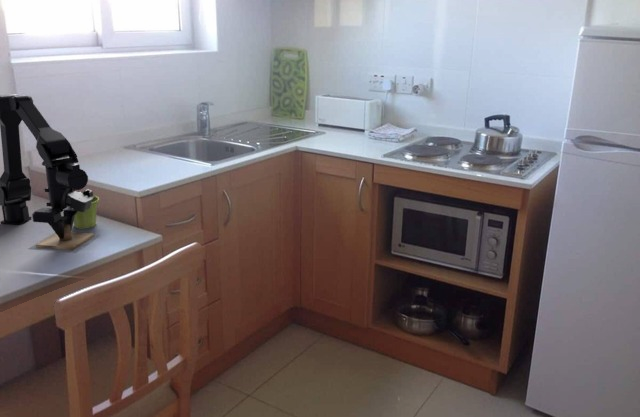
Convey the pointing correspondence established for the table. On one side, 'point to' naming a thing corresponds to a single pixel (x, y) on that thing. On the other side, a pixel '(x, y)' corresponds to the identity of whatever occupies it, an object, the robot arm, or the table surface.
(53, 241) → the lid
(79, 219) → the plant pot
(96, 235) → the mat
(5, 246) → the table surface
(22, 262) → the table surface
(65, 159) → the robot arm
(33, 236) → the table surface
